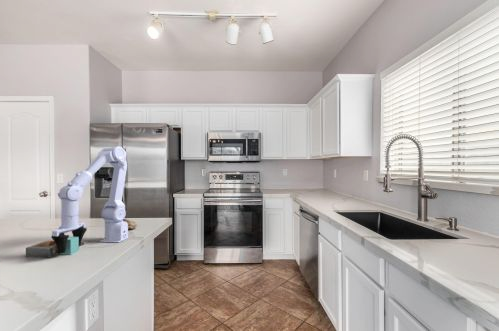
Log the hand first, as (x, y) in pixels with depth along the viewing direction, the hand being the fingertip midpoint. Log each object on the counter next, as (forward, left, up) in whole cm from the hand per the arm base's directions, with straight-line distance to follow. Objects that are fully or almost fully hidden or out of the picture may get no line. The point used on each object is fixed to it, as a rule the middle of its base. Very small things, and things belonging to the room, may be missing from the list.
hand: (69, 249), depth 99 cm
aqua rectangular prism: (0, 0, -2) cm, 2 cm away
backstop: (+8, -3, -1) cm, 9 cm away
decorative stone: (-1, -40, -2) cm, 40 cm away
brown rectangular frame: (+8, 0, -2) cm, 9 cm away
